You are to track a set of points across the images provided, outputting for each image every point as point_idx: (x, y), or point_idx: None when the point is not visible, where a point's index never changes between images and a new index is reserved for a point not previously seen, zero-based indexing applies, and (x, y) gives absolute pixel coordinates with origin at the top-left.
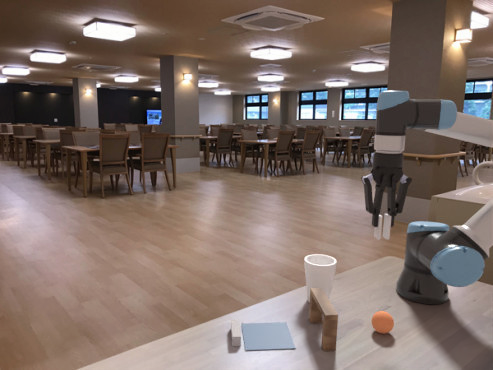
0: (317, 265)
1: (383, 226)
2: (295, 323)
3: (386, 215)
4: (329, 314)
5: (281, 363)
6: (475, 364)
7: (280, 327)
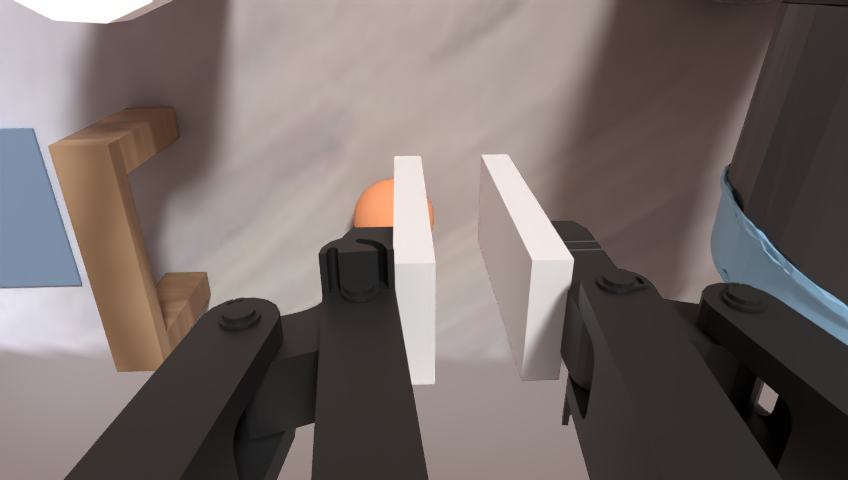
0: (34, 9)
1: (497, 194)
2: (72, 133)
3: (525, 316)
4: (132, 367)
5: (45, 342)
6: None
7: (12, 167)
